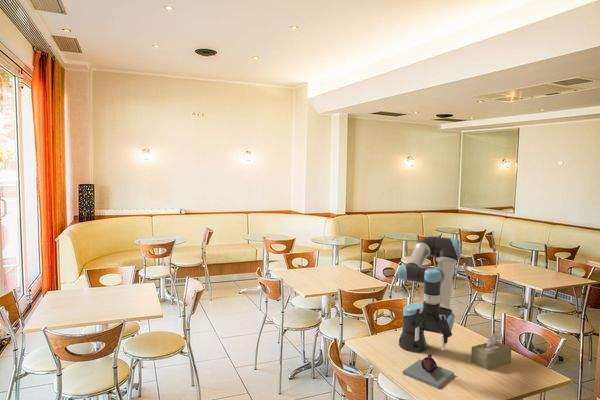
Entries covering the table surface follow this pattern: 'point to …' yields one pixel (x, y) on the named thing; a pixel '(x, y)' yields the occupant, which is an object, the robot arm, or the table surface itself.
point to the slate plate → (428, 374)
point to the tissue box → (491, 353)
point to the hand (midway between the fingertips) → (429, 344)
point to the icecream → (429, 364)
